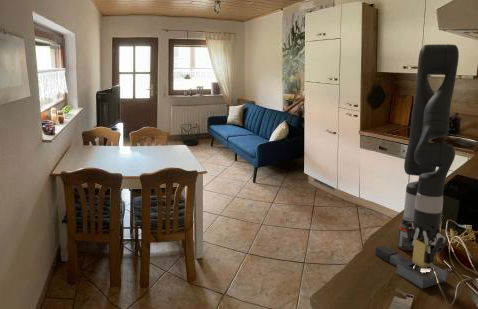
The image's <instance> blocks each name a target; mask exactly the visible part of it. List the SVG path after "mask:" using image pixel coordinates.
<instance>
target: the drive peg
mask: <svg viewBox="0 0 478 309" xmlns="http://www.w3.org/2000/svg"><path fill="white" fill-rule="evenodd" d="M429 242H431V241H429ZM431 247H432V245H431ZM426 254H427V245H426V244H425V240H423V239H421V238H420V239H415V240H414V250H412V259H411V260H412V263H414V264H416V265H417V266H419V267H421V268H426V267H429V266H432V264H433V262H432V263H430V264H427V263H426Z"/></svg>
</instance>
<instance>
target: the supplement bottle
mask: <svg viewBox="0 0 478 309" xmlns="http://www.w3.org/2000/svg"><path fill="white" fill-rule="evenodd" d="M403 217H404V216H403ZM403 217H402V220H401V222H400V223H399V227H398V236H397V237H398V238H397V247H398V249H400V250H402V251H405V252H411V251H412V252H413V244H412V242H409V241H408V236H407V230H406V223H409V222H414V219H413V218H411V217H404V218H403ZM415 232H416V231H415ZM411 236H412V234H411Z"/></svg>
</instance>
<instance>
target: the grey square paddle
mask: <svg viewBox="0 0 478 309" xmlns="http://www.w3.org/2000/svg"><path fill="white" fill-rule="evenodd" d="M375 256H377V257H379V258H380V259H382V260H384V261H386V262H387V263H389V264H392V265H393V266H394V267H396V274H397V275H399V276H400V277H402V278H403V279H405V280H407V281H408V282H410V283H412V284H414V285H415V286H416V287H418V288H420V289H427V288H428V287H433V286H435V285H437V284H436V279H435V274H434V272H433V271H430V272H426V273H423V274H422V273H421V272H419V271H417V270H415V269H413V266H414V265H415V264H414V263H412V259H408V258H406V257H405V256H403V255H401V254H399V253H398V251H397V250H394V249H393V248H391V247H389V246H387V245H385V244H384V245H381V246H376V247H375ZM432 267H433V268H434V271H435V272H436V274H437V276H438V279H439V282H440V283H439V284H442V283H445V282H446V281H447V275H448V274H447V272H448V271H446V270H444V269H443V268H440V267H439V266H437V265H435V264H433V263H432V266H429V267H427V268H432Z"/></svg>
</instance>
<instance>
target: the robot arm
mask: <svg viewBox="0 0 478 309" xmlns="http://www.w3.org/2000/svg"><path fill="white" fill-rule="evenodd" d="M459 53H460V52H459V48H458V46H457V45H456V44H448V43H447V44H443V43H442V44H440V43H439V44H437V43H436V44H424V45H422V47H420V50H419V54H418V59H417V60H418V61H417V70H416V71H417V73H416V74H417V75H416V85H415V86H416V87H415V88H416V89H415V94H414V101H413V107H412V111H411V118H410V120H411V121H410V127H409V129H410V131H409V137H408V138H409V139H408V144H407V147H406V148H407V149H406V153H405V157H404V158H405V159H404V164H403V165H404V169H403V170H404V173H405V174H407V175H409V176H416V177H418V180H417V181H412V182H409V183H407V184H406V188H405V197H404V210H403V217H402V219H403V218H404V217H411V218H413V219H414V222H409V223H406V230H407V236H408V241H409V242H412V244H413V250H414V240H415V239H420V238H421V239H423V240H425V244H426V245H427V254H426V263H427V264H430V263H432V264H433V263H434V260H435V254H440V253H442V251H443V249H444V247H445V245H446V243H447V241H448V240H449V239H448V236H446V235H444V236H443V235H442V234H441V232H440V225H441V223H442V216H443V207H444V206H443V205H444V190H445V183H446V178H447V175H448V173H449V171H450V169H451V166H452V165H453V162H454V160H455V157H456V150H455V148H454V146H453V145H452V144H450V143H446V142H430V141H431V140H433V139H437V138H444V137H446V136H447V135H448V134H449V130H450V119H451V118H450V117H451V116H450V114H451V105H452V104H451V103H452V99H453V94H454V91H455V90H454V89H455V84H456V77H457V71H458V66H459V57H460V55H459ZM429 75H431V76H432V75H435V76H436V75H437V76H438V75H439V76H440V75H441V76H442V75H443V76H444V77H443V81H442V83H441V85H440V87H438V89H437V91H435V92H434V91H433V88H432V86H431V85H430V82H429V78H428V76H429ZM415 231H416V232H415ZM411 234H412V236H411ZM429 241H431V242H429ZM431 245H432V247H431ZM413 250H412V251H413Z"/></svg>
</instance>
